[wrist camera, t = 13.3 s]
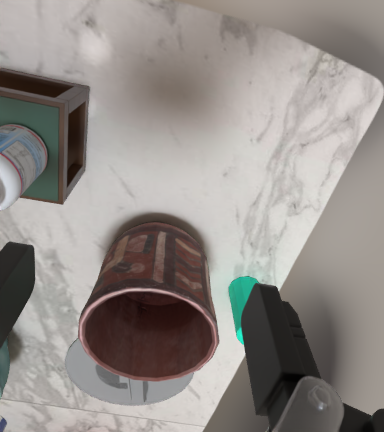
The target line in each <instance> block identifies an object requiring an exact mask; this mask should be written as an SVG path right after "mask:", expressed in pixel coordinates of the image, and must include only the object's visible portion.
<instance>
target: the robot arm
mask: <svg viewBox="0 0 384 432" xmlns="http://www.w3.org/2000/svg"><path fill="white" fill-rule="evenodd" d="M34 284H35V257H34V247H33V246H32V245H27V244H21V243H15V242H8V243H7V244H6V245H5V246H4V247H3V249H2V250H1V251H0V349H1V347H2V346H3V344H4V342H5V340H6V338H7V337H8V335H9V333H10V331H11V330H12V328H13V326H14V324H15V322H16V321H17V319H18V317H19V315H20V314H21V312H22V310H23V308H24V306H25V305H26V303H27V301H28V299H29V298H30V296H31V294H32V291H33V288H34ZM241 330H242V336H243V342H244V347H245V353H246V358H247V365H248V370H249V376H250V382H251V388H252V394H253V400H254V406H255V411H256V415H261V416H268V420H269V425H270V426H269V427H268V429H267V431H266V432H384V409H379V410H377V411H376V412H375V413H374V414H373V415H372V416H371V415H369V414H366V413H364V412H362V411H360V410H358V409H355V408H353V407H351V406H349V405H347V404H344V403H343V402H342V400H341V398H340V396H339V395H338V393H337V392H336V391H335V390H334V388H333V387H332V386H330V385H329V384H328V383H327V382H325V381H323V380H322V379H321V377H320V374H319V372H318V369H317V366H316V363H315V361H314V358H313V355H312V353H311V350H310V347H309V344H308V342H307V339H305V334H304V331H303V329H302V328H301V323H300V320H299V317H298V315H297V313H296V312H295V310H294V309H293V308H292V307H291V305H290V304H289V303H288V302H285V301H282V300H281V298H280V294H279V291H278V289H277V287H276V286H273V285H266V284H260V283H255V284H254V286H253V288H252V290H251V293H250V295H249V297H248V300H247V302H246V304H245V306H244V309H243V311H242V316H241Z"/></svg>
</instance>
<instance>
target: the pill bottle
mask: <svg viewBox="0 0 384 432" xmlns="http://www.w3.org/2000/svg"><path fill="white" fill-rule="evenodd" d="M47 157H48V155H47V149H46V147H45V144H44V143H43V141H42V140H41V138H40V137H39V136H38V135H37V134H36V133H34V132H33V131H32V130H30V129H28V128H26V127H24V126H21V125H15V124H9V125H4V126H1V127H0V211H1V210H4V209H6V208H8V207H10V206H11V205H12V204H13V203H14V202H15V201H16V200H17V199H18V198H19V197H20V196H21V195H22V194H23V193H24V192H25V190H26V189H27V188H28V187H29V186H30V185H31V184H32V183H33V182H34V181H35V180H36V179H37V177H38V176H39V175H40V174H41V173H42V172H43V170H44V169H45V167H46V164H47Z"/></svg>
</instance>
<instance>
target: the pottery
mask: <svg viewBox="0 0 384 432" xmlns="http://www.w3.org/2000/svg"><path fill="white" fill-rule="evenodd" d="M78 338H79V340H80V342H81V344H82V346H83V349H84V351H85V352H86V353H87V355H88V356H89V357H90V358H91V359H92V360H93V361H94V362H95V363H96V364H98V365H100V366H101V367H103V368H105V369H106V370H108V371H110V372H111V373H113V374H116V375H119V376H123V377H126V378H129V379H132V380H139V381H152V382H160V381H166V380H172V379H178V378H182V377H184V376H186V375H189V374H191V373H193V372H195V371H198V370H200V369H201V368H202V367H203V366H204V365H205V364H206V363H207V362H208V361H209V360H210V359H211V358H212V357H213V355H214V353H215V350H216V348H217V346H218V344H219V335H218V327H217V320H216V315H215V310H214V306H213V302H212V297H211V288H210V277H209V271H208V264H207V258H206V256H205V254H204V252H203V250H202V249H201V247H200V245H199V243H198V242H197V241H196V240H194V239H193V238H192V237H191V236H190V235H189V234H188V233H186V232H185V231H183V230H181V229H179V228H177V227H175V226H173V225H170V224H165V223H160V222H153V223H144V224H142V225H139V226H136V227H133V228H131V229H129V230H128V231H126V232H125V233H124V234H122V235H121V236H119V237H118V238H117V239H116V240H115V242H114V243H113V245H112V246H111V248H110V249H109V251H108V253H107V254H106V256H105V258H104V260H103V264H102V267H101V270H100V273H99V276H98V280H97V282H96V284H95V286H94V289H93V291H92V293H91V295H90V298H89V300H88V301H87V303H86V305H85V307H84V309H83V311H82V313H81V316H80V319H79V330H78Z"/></svg>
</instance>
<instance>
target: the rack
mask: <svg viewBox="0 0 384 432" xmlns="http://www.w3.org/2000/svg"><path fill="white" fill-rule="evenodd" d="M88 102H89V87H88V86H83V85H79V84H74V83H69V82H65V81H60V80H55V79H50V78H46V77H41V76H36V75H32V74H27V73H22V72H18V71H13V70H8V69H3V68H0V127H1V126H4V125H9V124H15V125H21V126H24V127H26V128H28V129H30V130H32V131H33V132H34V133H36V134H37V135H38V136H39V137H40V138H41V140H42V141H43V143H44V144H45V147H46V149H47V155H48V157H47V164H46V167H45V169H44V170H43V172H42V173H41V174H40V175H39V176H38V177H37V179H36V180H35V181H34V182H33V183H32V184H31V185H30V186H29V187H28V188H27V189H26V190H25V192H24V193H23V194H22V195H21V196H20V198H26V199H32V200H38V201H44V202H50V203H56V204H63V203H64V202H65V200H66V199H67V197H68V196H69V194H70V193H71V191H72V190H73V188H74V187H75V185H76V184H77V182H78V181H79V179H80V178H81V176H82V175H83V173H84V172H85V160H86V141H87V122H88Z"/></svg>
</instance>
